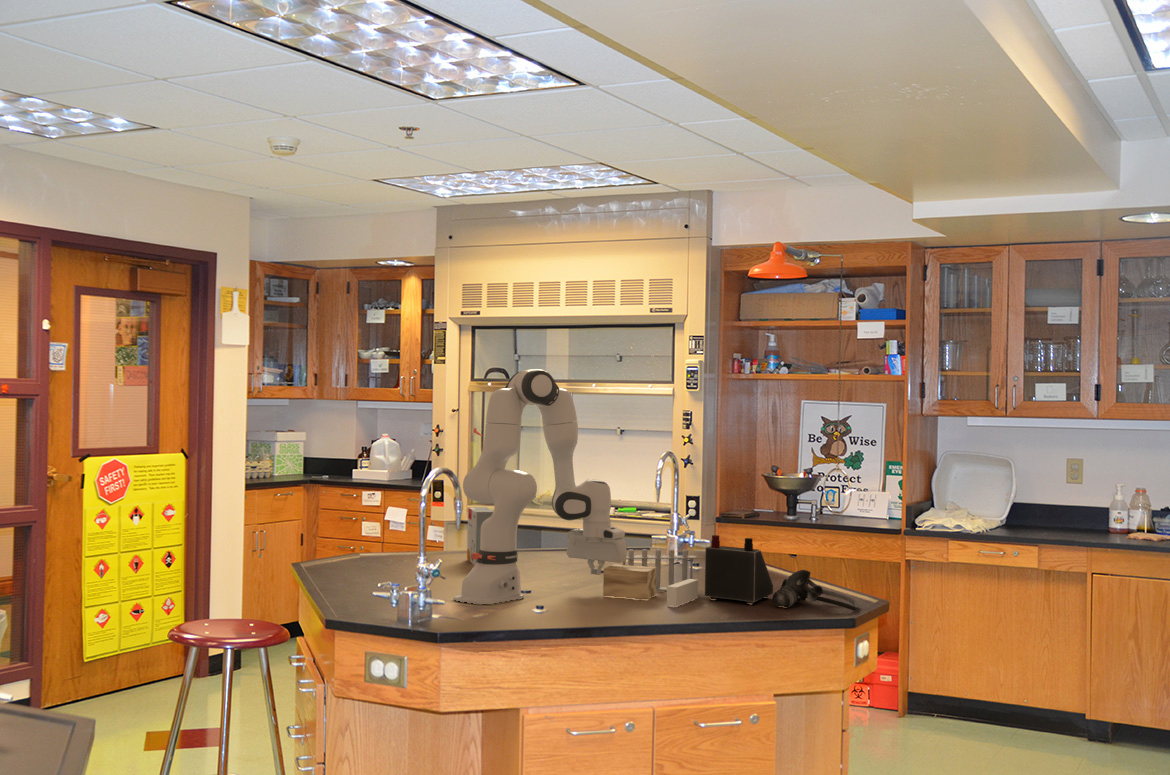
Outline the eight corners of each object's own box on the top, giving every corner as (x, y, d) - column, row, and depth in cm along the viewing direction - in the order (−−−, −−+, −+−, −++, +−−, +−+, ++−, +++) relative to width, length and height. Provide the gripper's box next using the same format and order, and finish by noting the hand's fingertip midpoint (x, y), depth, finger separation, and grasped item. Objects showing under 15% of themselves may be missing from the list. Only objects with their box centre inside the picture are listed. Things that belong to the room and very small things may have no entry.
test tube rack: (693, 589, 335) (694, 548, 335) (697, 591, 331) (697, 550, 331) (618, 589, 332) (618, 548, 332) (620, 592, 327) (621, 550, 328)
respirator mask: (777, 588, 324) (808, 553, 321) (830, 636, 318) (862, 602, 315) (765, 598, 306) (798, 562, 302) (821, 651, 299) (855, 614, 296)
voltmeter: (773, 598, 322) (774, 534, 322) (754, 606, 308) (755, 539, 308) (725, 592, 330) (726, 530, 330) (704, 600, 316) (705, 535, 316)
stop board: (676, 607, 303) (676, 587, 304) (666, 606, 305) (667, 586, 305) (697, 599, 317) (698, 579, 317) (688, 598, 319) (689, 578, 319)
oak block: (646, 601, 313) (647, 572, 313) (603, 597, 318) (603, 568, 318) (655, 596, 322) (656, 567, 323) (613, 592, 327) (613, 564, 327)
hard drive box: (466, 560, 387) (467, 507, 388) (486, 559, 390) (487, 506, 390) (474, 566, 373) (475, 511, 373) (495, 565, 375) (496, 511, 375)
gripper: (563, 529, 329) (562, 572, 329) (620, 534, 319) (619, 578, 319) (573, 527, 334) (572, 569, 334) (629, 532, 324) (628, 575, 324)
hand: (595, 574), depth 326 cm, fingers closed
